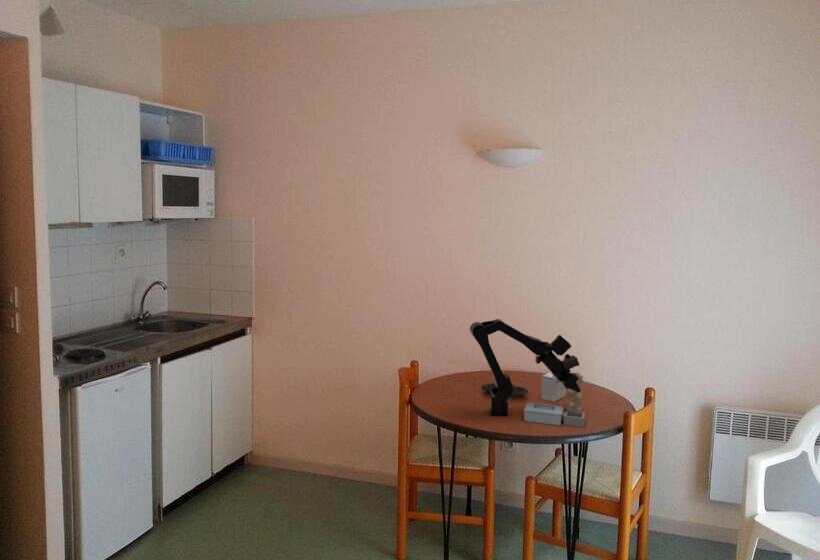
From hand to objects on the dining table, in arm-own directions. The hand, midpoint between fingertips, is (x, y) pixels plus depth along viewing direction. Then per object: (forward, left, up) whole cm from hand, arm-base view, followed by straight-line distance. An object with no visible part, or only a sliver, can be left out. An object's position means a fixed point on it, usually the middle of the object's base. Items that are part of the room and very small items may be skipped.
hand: (578, 389), depth 268 cm
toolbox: (-11, -10, -10) cm, 18 cm away
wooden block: (-1, 0, -8) cm, 9 cm away
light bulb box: (-6, +20, -10) cm, 23 cm away
